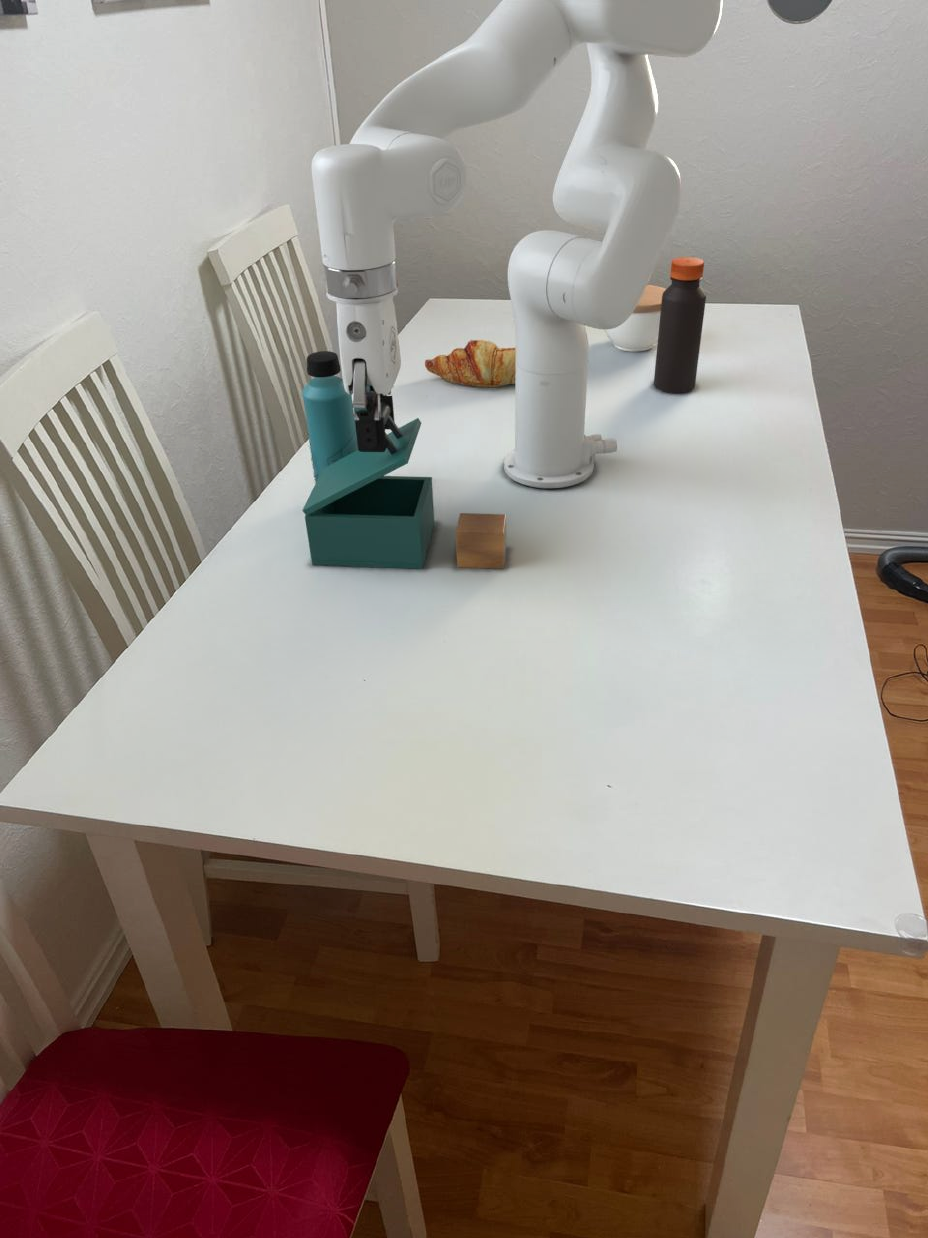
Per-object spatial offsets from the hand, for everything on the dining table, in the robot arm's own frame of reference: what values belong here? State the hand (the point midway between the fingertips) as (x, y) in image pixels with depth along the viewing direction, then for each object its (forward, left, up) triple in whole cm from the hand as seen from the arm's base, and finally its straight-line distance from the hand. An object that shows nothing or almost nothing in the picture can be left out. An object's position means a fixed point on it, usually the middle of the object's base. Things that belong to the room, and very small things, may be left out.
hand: (376, 437), depth 106 cm
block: (-11, +7, -14) cm, 19 cm away
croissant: (-26, -47, -15) cm, 56 cm away
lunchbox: (+1, 0, -14) cm, 15 cm away
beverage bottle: (+4, -13, -15) cm, 20 cm away
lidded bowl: (-56, -55, -15) cm, 80 cm away
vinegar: (-55, -35, -15) cm, 67 cm away
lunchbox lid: (+2, -1, -4) cm, 4 cm away
